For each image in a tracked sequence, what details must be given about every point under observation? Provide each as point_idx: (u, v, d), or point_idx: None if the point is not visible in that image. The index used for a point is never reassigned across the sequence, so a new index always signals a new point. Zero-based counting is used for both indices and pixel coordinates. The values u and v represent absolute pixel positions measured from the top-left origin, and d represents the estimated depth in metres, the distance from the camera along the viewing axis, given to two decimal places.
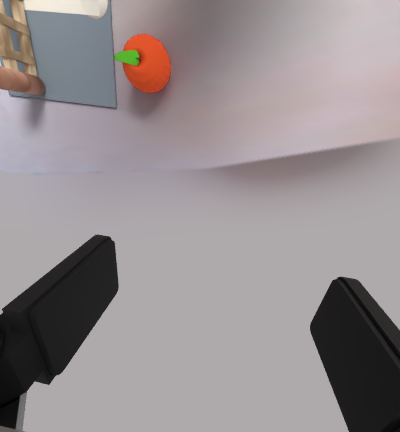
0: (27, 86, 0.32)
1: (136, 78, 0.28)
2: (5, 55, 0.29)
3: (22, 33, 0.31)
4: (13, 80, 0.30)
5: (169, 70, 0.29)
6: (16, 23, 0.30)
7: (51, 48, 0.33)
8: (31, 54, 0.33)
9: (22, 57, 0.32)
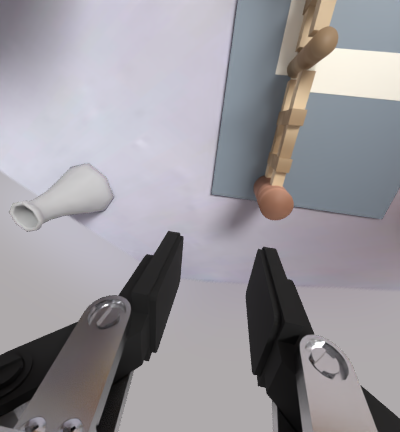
0: None
1: None
2: (288, 171, 0.18)
3: None
4: None
5: None
6: None
7: (312, 142, 0.22)
8: None
9: None
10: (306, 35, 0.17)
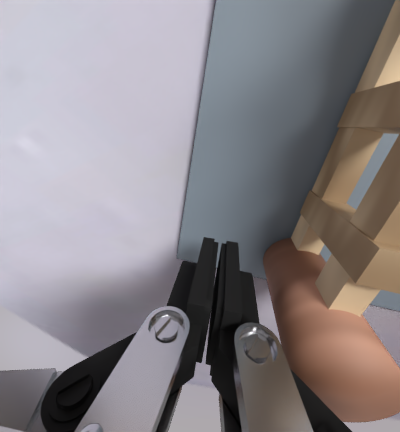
0: None
1: None
2: (398, 288, 0.05)
3: (378, 132, 0.07)
4: None
5: None
6: None
7: None
8: None
9: None
10: None
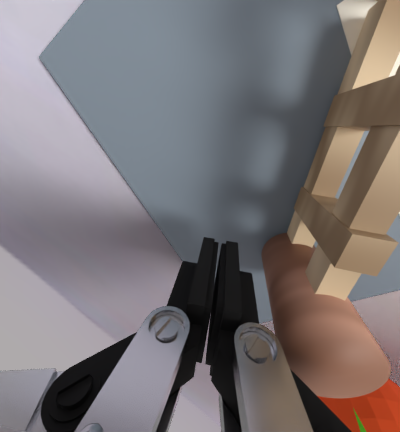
0: None
1: None
2: (374, 271, 0.06)
3: (359, 130, 0.08)
4: None
5: None
6: None
7: (265, 161, 0.10)
8: None
9: None
10: None
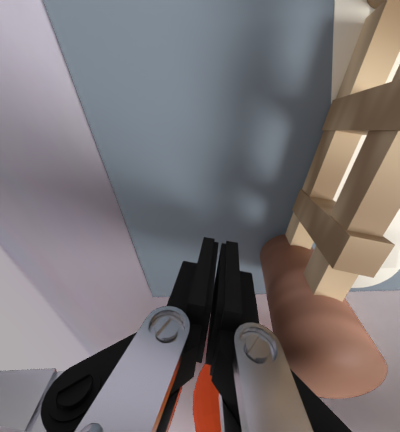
0: None
1: None
2: (371, 272, 0.06)
3: (357, 134, 0.08)
4: None
5: None
6: None
7: (228, 131, 0.10)
8: None
9: None
10: None
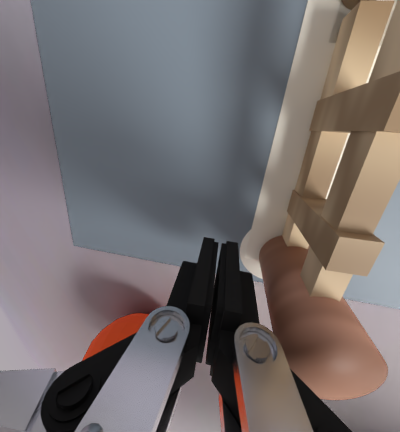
0: None
1: None
2: (365, 271, 0.06)
3: (343, 132, 0.08)
4: None
5: None
6: None
7: (185, 86, 0.10)
8: None
9: None
10: None
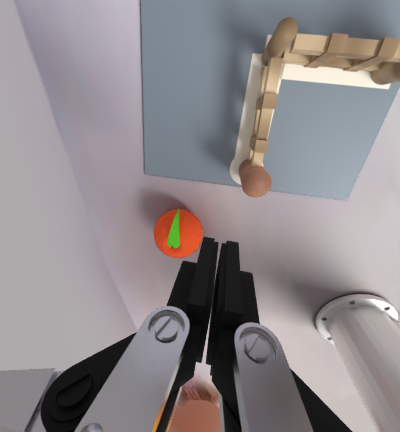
0: None
1: (158, 237, 0.26)
2: (265, 151, 0.20)
3: None
4: None
5: None
6: None
7: (205, 92, 0.23)
8: None
9: None
10: (293, 52, 0.20)
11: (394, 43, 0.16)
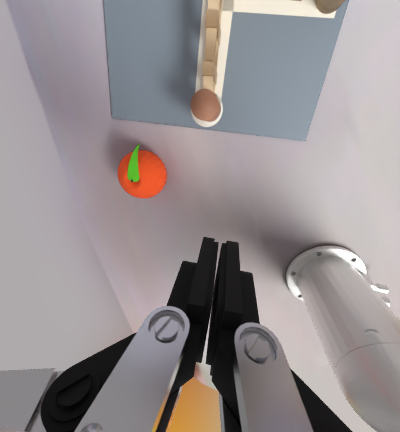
0: (218, 113, 0.24)
1: (119, 172, 0.27)
2: (212, 74, 0.21)
3: (217, 42, 0.23)
4: (218, 107, 0.22)
5: None
6: (219, 29, 0.22)
7: (163, 28, 0.24)
8: (216, 70, 0.25)
9: (215, 74, 0.23)
10: None
11: None
